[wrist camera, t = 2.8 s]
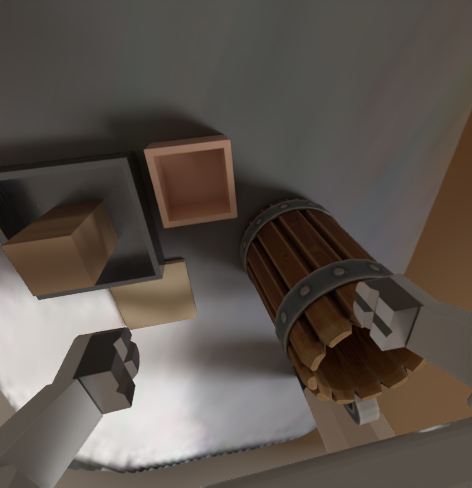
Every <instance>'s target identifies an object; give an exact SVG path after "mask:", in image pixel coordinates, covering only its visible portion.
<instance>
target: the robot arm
mask: <svg viewBox="0 0 472 488" xmlns="http://www.w3.org/2000/svg"><path fill="white" fill-rule="evenodd" d="M356 292H357V293H358V294H359V295H358V296H357V297H356V298H355V299H354V304H353V309H354V313H355V316H356V318H357V320H358V321H359V322H360V324H361V325H362V326H364V327H366V328H368V329H370V336H371V338H372V339H373V340H374V341H375V342H376V344H377V345H378V346H379V347H380V349H381V350H382V351H385V350H390V349H395V348H401V347H406V348H407V349H409V350H410V351H412V352H414V353H415V354H417V355H419V356H420V357H422V358H424V359H425V360H427V361H428V362H430V363H432V364H434V365H435V366H437V367H438V368H440V369H442V370H443V371H445V372H447V373H448V374H450V375H451V376H453V377H455V378H456V379H458V380H460V381H461V382H463V383H465V384H466V385H468V386H469V387H471V388H472V312H470V311H467V310H464V309H461V308H459V307H456V306H453V305H450V304H447V303H445V302H444V303H439V302H437V301H436V300H435V299H434V298H432V297H431V296H430V295H429V294H427V293H426V292H425V291H423V290H422V289H421V288H420V287H418V286H417V285H416V284H414V283H413V282H412V281H411V280H409V279H408V278H407V277H405V276H404V275H401V274H395V275H390V276H386V277H381V278H376V279H371V280H366V281H361V282H359V283H358V284H357V287H356ZM131 336H132V334H131V332H130V330H129V328H126V327H124V328H118V329H112V330H106V331H100V332H95V333H91V334H85V335H79V336H78V337H76V338H75V339H74V341H73V343H72V345H71V347H70V349H69V351H68V353H67V355H66V357H65V359H64V361H63V363H62V365H61V367H60V369H59V371H58V373H57V375H56V377H55V379H54V381H53V383H52V384H50V385H46V386H45V387H44V388H43V389H42V390H41V391H40V392H38V393H37V394H36V395H35V396H34V397H33V398H32V399H31V400H30V401H29V402H27V403H26V404H25V405H24V406H23V407H22V408H21V409H20V410H19V411H18V412H16V413H15V414H14V415H13V416H12V417H11V418H10V419H9V420H8V421H7V422H5V423H4V424H3V425H2V426H1V427H0V488H53V487H54V486H55V484H56V483H57V481H58V480H59V479H60V477H61V476H62V474H63V473H64V471H65V470H66V469H67V467H68V466H69V464H70V463H71V461H72V460H73V458H74V457H75V456H76V454H77V453H78V451H79V450H80V448H81V447H82V446H83V444H84V443H85V441H86V440H87V438H88V437H89V435H90V434H91V433H92V431H93V430H94V428H95V427H96V425H97V424H98V422H99V421H100V420H101V418H102V417H103V415H102V414H106V413H110V412H114V411H118V410H122V409H126V408H130V407H131V406H132V401H133V396H134V391H135V384H134V382H133V380H132V379H133V378H134V377H135V376H136V374H137V373H138V370H139V351H138V348H137V345H136V343H134V342H132V341H130V340H131ZM467 405H469V407H470V408H471V409H472V393H471V395H470V396H469V398H468V404H467ZM199 488H472V417H469V418H465V419H461V420H457V421H453V422H449V423H446V424H442V425H438V426H434V427H430V428H426V429H423V430H419V431H415V432H411V433H407V434H403V435H399V436H395V437H391V438H388V439H384V440H380V441H376V442H372V443H368V444H364V445H361V446H357V447H353V448H349V449H345V450H341V451H337V452H334V453H330V454H326V455H322V456H318V457H314V458H311V459H307V460H303V461H299V462H295V463H291V464H287V465H283V466H280V467H276V468H272V469H269V470H265V471H260V472H256V473H253V474H249V475H245V476H241V477H237V478H233V479H230V480H226V481H222V482H218V483H214V484H210V485H207V486H203V487H199Z"/></svg>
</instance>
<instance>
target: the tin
mask: <svg viewBox="0 0 472 488" xmlns="http://www.w3.org/2000/svg"><path fill="white" fill-rule="evenodd" d="M97 200H104V201H105V204H106V207H107V209H108V212H109V215H110V218H111V220H112V223H113V226H114V228H115V231H116V234H117V236H118V239H119V240H118V242H117V244H116V246H115V248H114V250H113V252H112V254H111V256H110V257H109V259H108V261H107V263H106V265H105V267H104V269H103V271H102V272H101V274H100V276H99V278H98V280H97V282H96V284H95V286H92V287H86V288H80V289H74V290H68V291H62V292H56V293H50V294H44V295H38V296H36V297H37V298H38V300H41V299H47V298H53V297H59V296H65V295H71V294H77V293H82V292H88V291H94V290H100V289H106V288H112V287H118V286H124V285H129V284H135V283H141V282H147V281H153V280H159V279H163V273H164V267H165V259H164V255H163V252H162V248H161V245H160V241H159V237H158V234H157V230H156V227H155V223H154V219H153V216H152V212H151V209H150V205H149V202H148V198H147V194H146V191H145V187H144V184H143V180H142V176H141V173H140V169H139V166H138V162H137V158H136V155H135V151H132V152H124V153H115V154H107V155H99V156H90V157H82V158H73V159H65V160H57V161H48V162H40V163H31V164H23V165H14V166H6V167H0V241H1V242H2V244H4V243H6V242H7V241H8V240H10V239H11V238H12V237H14V236H15V235H16V234H18V233H19V232H21V231H22V230H23V229H25V228H26V227H27V226H29V225H30V224H31V223H33V222H34V221H36V220H37V219H38V218H40V217H41V216H42V215H44V214H45V213H46V212H48V211H49V210H51V209H52V208H53V207H55V206H60V205H67V204H75V203H82V202H89V201H97Z"/></svg>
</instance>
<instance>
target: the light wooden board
mask: <svg viewBox="0 0 472 488" xmlns="http://www.w3.org/2000/svg"><path fill="white" fill-rule="evenodd" d="M110 289H111V292H112V294H113V296H114V298H115V301H116V303H117V305H118V308H119V310H120V312H121V314H122V317H123V319H124V321H125V324H126V326H127V328H129V330H133V329H138V328H143V327H149V326H154V325H159V324H165V323H170V322H175V321H181V320H186V319H191V318H197V311H196V307H195V302H194V298H193V294H192V289H191V285H190V281H189V276H188V272H187V268H186V263H185V259H179V260H173V261H167V262H165V267H164V273H163V279H159V280H153V281H147V282H141V283H135V284H129V285H124V286H118V287H112V288H110Z"/></svg>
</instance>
